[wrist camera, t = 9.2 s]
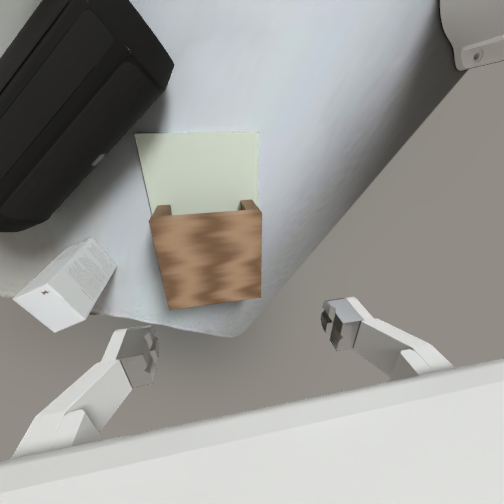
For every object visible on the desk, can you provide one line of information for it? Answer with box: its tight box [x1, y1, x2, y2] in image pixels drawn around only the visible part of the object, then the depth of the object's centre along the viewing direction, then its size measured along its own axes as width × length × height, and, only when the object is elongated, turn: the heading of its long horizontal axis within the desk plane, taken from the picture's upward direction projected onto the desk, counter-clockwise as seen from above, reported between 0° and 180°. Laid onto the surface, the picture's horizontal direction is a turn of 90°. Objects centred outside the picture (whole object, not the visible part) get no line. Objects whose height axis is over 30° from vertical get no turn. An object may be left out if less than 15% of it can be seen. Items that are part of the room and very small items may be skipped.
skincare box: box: [13, 237, 117, 333], centre depth 31 cm, size 6×4×12 cm
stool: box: [149, 199, 262, 310], centre depth 35 cm, size 14×7×14 cm
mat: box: [134, 132, 259, 215], centre depth 37 cm, size 16×26×1 cm, turn 1°
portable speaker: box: [0, 0, 174, 232], centre depth 24 cm, size 26×10×10 cm, turn 130°
